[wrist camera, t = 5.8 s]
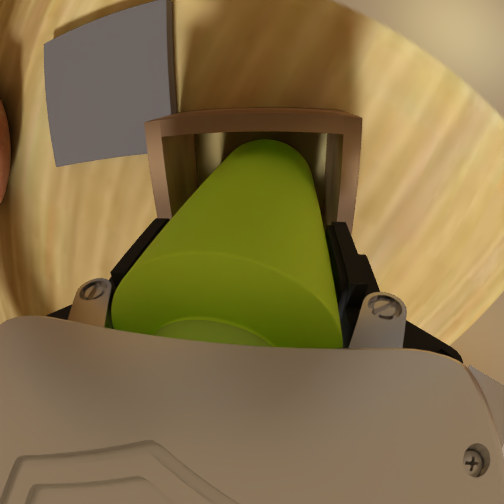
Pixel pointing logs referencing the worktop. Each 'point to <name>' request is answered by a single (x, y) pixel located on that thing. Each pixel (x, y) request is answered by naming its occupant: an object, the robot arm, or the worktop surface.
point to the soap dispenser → (239, 260)
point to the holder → (253, 119)
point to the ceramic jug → (4, 152)
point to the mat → (110, 83)
